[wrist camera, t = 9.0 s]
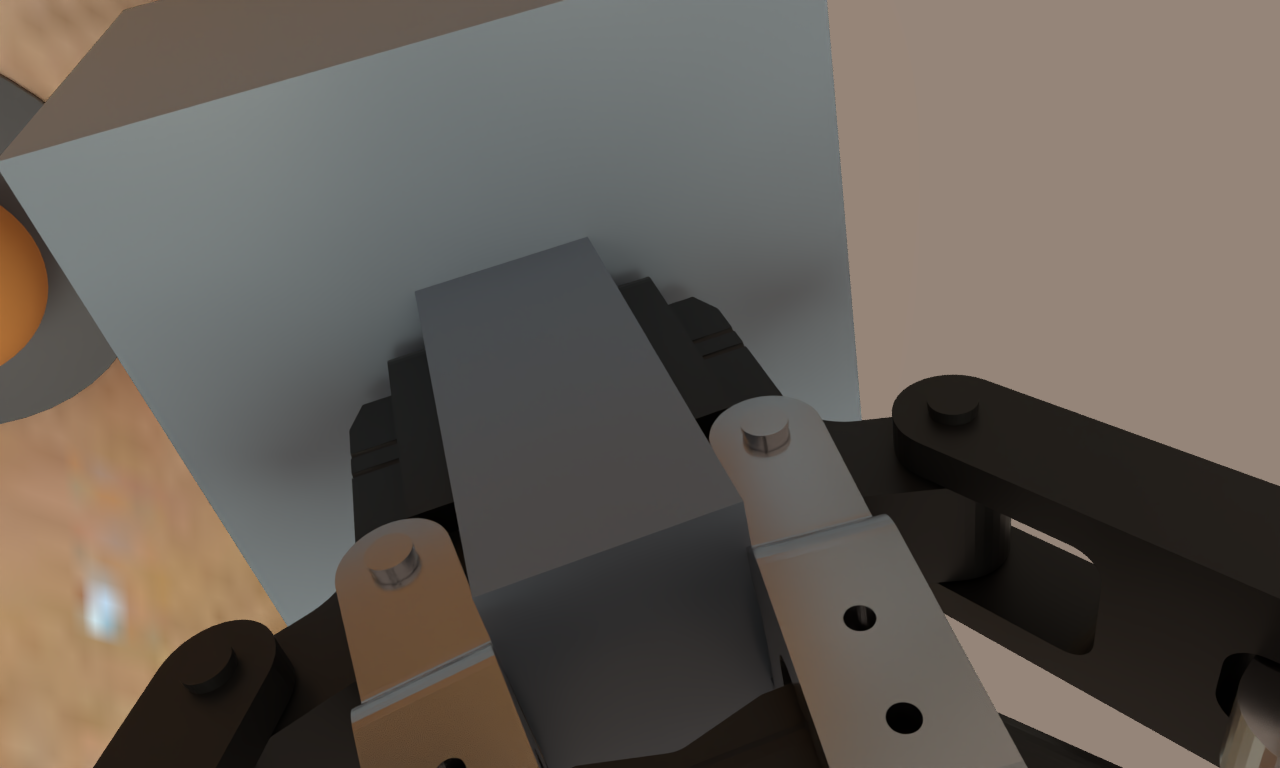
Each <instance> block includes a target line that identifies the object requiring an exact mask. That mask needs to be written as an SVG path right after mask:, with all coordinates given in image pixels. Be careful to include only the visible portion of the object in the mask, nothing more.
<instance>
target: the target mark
mask: <svg viewBox="0 0 1280 768" xmlns="http://www.w3.org/2000/svg"><path fill="white" fill-rule="evenodd" d="M44 104H45V103H44V102H43V101H41V100H40V99H39V98H38V97H36V96H34V95H33V94H31V93H30V92H28V91H27V90H25V89H23V88H22V87H20V86H19V85H17V84H16V83H14V82H12V81H11V80H9V79H8V78H6V77H4V76H2V75H0V156H1V154H2V153H3V152H4V151H5V150H6V148H7V147H8V146H9V145H10V144H11V143H12V141H13V140H14V139H15V138H16V137H17V135H18V134H19V133H20V132H21V131H22V130H23V128H24V127H25V126H26V125H27V124H28V122H29V121H30V120H31V119H32V118H33V117H34V115H35V114H36V113H37V112H38V111H39V109H40V108H41V107H42V106H43V105H44ZM0 205H1V206H2V207H3V208H5V209H6V210H7V211H8V212H10V213H11V214H12V215H13V216H14V217H15V218H16V219H17V220H18V221H19V222H20V223H21V224H22V225H23V226H24V227H25V228H26V230H27V231H28V232H29V234H30V235H31V236H32V238H33V239H34V241H35V243H36V245H37V247H38V248H39V250H40V253H41V255H42V258H43V260H44V263H45V268H46V272H47V278H48V299H47V304H46V309H45V313H44V315H43V318H42V320H41V323H40V325H39V327H38V329H37V330H36V332H35V334H34V335H33V337H32V338H31V339H30V341H29V342H28V343H27V344H26V346H25V347H24V348H23V349H22V350H20V351H19V352H18V353H17V354H16V355H15V356H14V357H13V358H11V359H10V360H8V361H7V362H6V363H4V364H3V365H1V366H0V424H2V423H6V422H10V421H14V420H18V419H22V418H26V417H29V416H32V415H34V414H37V413H40V412H42V411H45V410H48V409H50V408H52V407H54V406H56V405H58V404H60V403H62V402H64V401H66V400H68V399H70V398H72V397H73V396H75V395H76V394H78V393H79V392H80V391H82V390H83V389H85V388H86V387H88V386H89V385H90V384H92V383H93V382H94V381H95V380H96V379H97V378H98V377H99V376H100V375H101V374H103V373H104V372H105V371H106V370H107V369H108V368H109V367H110V365H111V364H112V363H113V362H114V360H115V359H116V358H117V356H116V354H115V353H114V351H113V349H112V348H111V346H110V345H109V343H108V342H107V340H106V338H105V337H104V335H103V334H102V332H101V330H100V329H99V327H98V326H97V324H96V323H95V321H94V319H93V318H92V316H91V315H90V313H89V312H88V310H87V308H86V307H85V305H84V304H83V302H82V300H81V299H80V297H79V296H78V294H77V293H76V291H75V289H74V288H73V286H72V285H71V283H70V281H69V280H68V278H67V277H66V275H65V274H64V272H63V270H62V269H61V267H60V266H59V264H58V263H57V261H56V259H55V258H54V256H53V255H52V253H51V251H50V250H49V248H48V247H47V245H46V244H45V242H44V240H43V239H42V237H41V236H40V234H39V232H38V231H37V229H36V228H35V226H34V225H33V223H32V221H31V220H30V218H29V217H28V215H27V214H26V212H25V210H24V209H23V207H22V206H21V204H20V202H19V201H18V199H17V198H16V196H15V195H14V193H13V191H12V190H11V188H10V187H9V185H8V183H7V182H6V180H5V179H4V177H3V176H2V174H1V172H0Z"/></svg>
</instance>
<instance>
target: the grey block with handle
mask: <svg viewBox="0 0 1280 768" xmlns="http://www.w3.org/2000/svg"><path fill="white" fill-rule="evenodd" d="M0 172H1V174H2V176H3V177H4V179H5V180H6V182H7V183H8V185H9V187H10V188H11V190H12V191H13V193H14V195H15V196H16V198H17V199H18V201H19V202H20V204H21V206H22V207H23V209H24V210H25V212H26V214H27V215H28V217H29V218H30V220H31V221H32V223H33V225H34V226H35V228H36V229H37V231H38V232H39V234H40V236H41V237H42V239H43V240H44V242H45V244H46V245H47V247H48V248H49V250H50V251H51V253H52V255H53V256H54V258H55V259H56V261H57V263H58V264H59V266H60V267H61V269H62V270H63V272H64V274H65V275H66V277H67V278H68V280H69V281H70V283H71V285H72V286H73V288H74V289H75V291H76V293H77V294H78V296H79V297H80V299H81V300H82V302H83V304H84V305H85V307H86V308H87V310H88V312H89V313H90V315H91V316H92V318H93V319H94V321H95V323H96V324H97V326H98V327H99V329H100V330H101V332H102V334H103V335H104V337H105V338H106V340H107V342H108V343H109V345H110V346H111V348H112V349H113V351H114V353H115V354H116V356H117V357H118V359H119V361H120V362H121V364H122V365H123V367H124V368H125V370H126V372H127V373H128V375H129V376H130V378H131V379H132V381H133V383H134V384H135V386H136V387H137V389H138V391H139V392H140V394H141V395H142V397H143V398H144V400H145V402H146V403H147V405H148V406H149V408H150V410H151V411H152V413H153V414H154V416H155V417H156V419H157V421H158V422H159V424H160V425H161V427H162V428H163V430H164V432H165V433H166V435H167V436H168V438H169V440H170V441H171V443H172V444H173V446H174V447H175V449H176V451H177V452H178V454H179V455H180V457H181V459H182V460H183V462H184V463H185V465H186V466H187V468H188V470H189V471H190V473H191V474H192V476H193V477H194V479H195V481H196V482H197V484H198V485H199V487H200V489H201V490H202V492H203V493H204V495H205V496H206V498H207V500H208V501H209V503H210V504H211V506H212V508H213V509H214V511H215V512H216V514H217V515H218V517H219V519H220V520H221V522H222V523H223V525H224V526H225V528H226V530H227V531H228V533H229V534H230V536H231V538H232V539H233V541H234V542H235V544H236V545H237V547H238V549H239V550H240V552H241V553H242V555H243V557H244V558H245V560H246V561H247V563H248V564H249V566H250V568H251V569H252V571H253V572H254V574H255V575H256V577H257V579H258V580H259V582H260V583H261V585H262V587H263V588H264V590H265V591H266V593H267V594H268V596H269V598H270V599H271V601H272V602H273V604H274V605H275V607H276V609H277V610H278V612H279V613H280V615H281V617H282V618H283V620H284V621H285V623H286V624H287V626H290V625H291V624H293V623H294V622H296V621H298V620H299V619H301V618H303V617H304V616H306V615H307V614H309V613H310V612H312V611H313V610H315V609H316V608H318V607H319V606H320V605H322V604H323V603H324V602H325V601H326V600H328V599H329V598H330V597H331V596H332V595H333V594H334V593H335V592H336V588H335V575H336V571H337V568H338V565H339V563H340V561H341V560H342V558H343V556H344V555H345V554H346V553H347V551H348V550H349V549H350V548H351V547H352V546H353V545H354V544H355V530H354V511H353V493H352V478H353V476H352V474H351V459H352V457H351V454H350V437H349V430H350V428H351V426H352V424H353V422H354V420H355V418H356V416H357V415H358V413H359V411H360V409H361V407H362V405H364V404H367V403H370V402H373V401H376V400H379V399H382V398H385V397H388V396H391V389H390V381H389V373H388V364H387V362H388V360H391V359H394V358H397V357H400V356H403V355H406V354H409V353H412V352H415V351H419V350H422V349H425V350H426V355H427V361H428V366H429V371H430V377H431V382H432V387H433V393H434V398H435V403H436V409H437V414H438V419H439V425H440V430H441V435H442V441H443V446H444V451H445V457H446V462H447V467H448V473H449V478H450V483H451V489H452V494H453V499H454V505H455V510H456V515H457V521H458V526H459V531H460V537H461V542H462V547H463V553H464V558H465V563H466V569H467V574H468V579H469V585H470V590H471V595H472V599H473V601H474V604H475V606H476V608H477V610H478V613H479V615H480V617H481V619H482V621H483V624H484V626H485V628H486V630H487V633H488V635H489V637H490V639H491V641H492V644H493V646H494V648H495V650H496V653H497V655H498V657H499V659H500V661H501V664H502V666H503V668H504V670H505V673H506V675H507V677H508V679H509V682H510V684H511V686H512V688H513V690H514V693H515V695H516V697H517V699H518V702H519V704H520V706H521V708H522V710H523V713H524V715H525V717H526V719H527V722H528V724H529V726H530V728H531V730H532V733H533V735H534V737H535V739H536V742H537V744H538V746H539V748H540V751H541V753H542V755H543V757H544V759H545V762H546V764H547V766H548V768H572V767H574V766H578V765H585V764H592V763H600V762H607V761H614V760H622V759H629V758H636V757H644V756H651V755H658V754H666V753H671V752H675V751H678V750H680V749H682V748H684V747H686V746H687V745H689V744H690V743H692V742H693V741H695V740H696V739H698V738H699V737H700V736H702V735H703V734H705V733H706V732H708V731H709V730H711V729H712V728H714V727H715V726H716V725H718V724H719V723H721V722H722V721H724V720H725V719H727V718H728V717H729V716H731V715H732V714H734V713H735V712H737V711H738V710H740V709H741V708H743V707H744V706H745V705H747V704H748V703H750V702H751V701H753V700H754V699H756V698H757V697H759V696H760V695H762V694H764V693H767V692H769V691H772V690H773V688H772V683H771V678H772V677H773V674H772V669H771V663H770V658H769V652H768V647H767V642H766V636H765V631H764V625H763V620H762V616H761V612H760V607H759V604H758V600H757V596H756V593H755V589H754V586H753V582H752V578H751V573H750V568H749V562H748V557H747V552H746V547H748V546H751V540H750V535H749V529H748V524H747V518H746V513H745V508H744V502H743V500H742V498H741V496H740V495H739V493H738V491H737V490H736V488H735V486H734V484H733V483H732V481H731V479H730V478H729V476H728V474H727V473H726V471H725V469H724V467H723V466H722V464H721V462H720V461H719V459H718V457H717V456H716V454H715V452H714V450H713V449H712V447H711V445H710V444H709V442H708V440H707V439H706V437H705V435H704V433H703V432H702V430H701V428H700V427H699V425H698V423H697V422H696V420H695V418H694V416H693V415H692V413H691V411H690V410H689V408H688V406H687V405H686V403H685V401H684V400H683V398H682V396H681V394H680V393H679V391H678V389H677V388H676V386H675V384H674V383H673V381H672V379H671V377H670V376H669V374H668V372H667V371H666V369H665V367H664V366H663V364H662V362H661V360H660V359H659V357H658V355H657V354H656V352H655V350H654V349H653V347H652V345H651V343H650V342H649V340H648V338H647V337H646V335H645V333H644V332H643V330H642V328H641V326H640V325H639V323H638V321H637V320H636V318H635V316H634V315H633V313H632V311H631V309H630V308H629V306H628V304H627V303H626V301H625V299H624V298H623V296H622V294H621V292H620V291H619V289H618V287H617V286H620V285H623V284H626V283H629V282H632V281H635V280H638V279H642V278H645V277H650V278H651V279H652V281H653V282H654V284H655V285H656V287H657V288H658V290H659V291H660V293H661V294H662V296H663V297H664V299H665V301H666V302H667V304H668V305H669V304H672V303H675V302H678V301H681V300H684V299H687V298H690V297H695V298H697V299H699V300H701V301H703V302H705V303H707V304H709V305H712V306H714V307H716V308H718V309H719V310H720V312H721V313H722V314H723V316H724V317H725V318H726V320H727V321H728V322H729V324H730V325H731V327H732V329H733V331H735V332H736V333H737V335H738V336H739V337H740V339H741V340H742V341H743V344H744V346H746V347H747V348H748V349H749V351H750V352H751V353H752V355H753V356H754V357H755V359H756V360H757V361H758V363H759V364H760V366H761V367H762V368H763V370H764V371H765V372H766V374H767V375H768V376H769V378H770V379H771V380H772V382H773V383H774V384H775V386H776V387H777V388H778V390H779V391H780V392H781V394H782V395H783V396H784V397H790V398H794V399H798V400H800V401H803V402H805V403H807V404H808V405H810V406H812V407H813V408H814V409H815V410H816V411H817V412H818V414H819V415H820V417H821V418H822V420H828V421H839V422H849V421H861V420H862V419H861V408H860V395H859V383H858V371H857V358H856V347H855V334H854V323H853V310H852V298H851V286H850V274H849V262H848V249H847V238H846V225H845V214H844V201H843V189H842V178H841V166H840V153H839V140H838V128H837V116H836V104H835V92H834V80H833V68H832V57H831V44H830V32H829V20H828V7H827V0H159V1H155V2H151V3H148V4H144V5H140V6H136V7H133V8H129V9H125V10H123V11H122V13H121V14H120V15H119V16H118V17H117V18H116V20H115V21H114V22H113V23H112V24H111V26H110V27H109V28H108V29H107V30H106V31H105V33H104V34H103V35H102V36H101V37H100V39H99V40H98V41H97V42H96V43H95V44H94V46H93V47H92V48H91V49H90V50H89V52H88V53H87V54H86V55H85V56H84V57H83V59H82V60H81V61H80V62H79V63H78V65H77V66H76V67H75V68H74V69H73V70H72V72H71V73H70V74H69V75H68V76H67V78H66V79H65V80H64V81H63V82H62V83H61V85H60V86H59V87H58V88H57V89H56V91H55V92H54V93H53V94H52V95H51V96H50V98H49V99H48V100H47V101H46V102H45V104H44V105H43V106H42V107H41V108H40V109H39V111H38V112H37V113H36V114H35V115H34V117H33V118H32V119H31V120H30V121H29V122H28V124H27V125H26V126H25V127H24V128H23V130H22V131H21V132H20V133H19V134H18V135H17V137H16V138H15V139H14V140H13V141H12V143H11V144H10V145H9V146H8V147H7V148H6V150H5V151H4V152H3V153H2V154H1V156H0Z"/></svg>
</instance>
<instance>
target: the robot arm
mask: <svg viewBox="0 0 1280 768" xmlns="http://www.w3.org/2000/svg"><path fill="white" fill-rule="evenodd" d="M617 287H618V289H619V291H620V292H621V294H622V296H623V298H624V299H625V301H626V303H627V304H628V306H629V308H630V309H631V311H632V313H633V315H634V316H635V318H636V320H637V321H638V323H639V325H640V326H641V328H642V330H643V332H644V333H645V335H646V337H647V338H648V340H649V342H650V343H651V345H652V347H653V349H654V350H655V352H656V354H657V355H658V357H659V359H660V360H661V362H662V364H663V366H664V367H665V369H666V371H667V372H668V374H669V376H670V377H671V379H672V381H673V383H674V384H675V386H676V388H677V389H678V391H679V393H680V394H681V396H682V398H683V400H684V401H685V403H686V405H687V406H688V408H689V410H690V411H691V413H692V415H693V416H694V418H695V420H696V422H697V423H698V425H699V427H700V428H701V430H702V432H703V433H704V435H705V437H706V439H707V440H708V442H709V444H710V445H711V447H712V449H713V450H714V452H715V454H716V456H717V457H718V459H719V461H720V462H721V464H722V466H723V467H724V469H725V471H726V473H727V474H728V476H729V478H730V479H731V481H732V483H733V484H734V486H735V488H736V490H737V491H738V493H739V495H740V496H741V498H742V500H743V502H744V508H745V513H746V518H747V524H748V529H749V535H750V540H751V546H748V547H746V552H747V557H748V562H749V568H750V573H751V578H752V582H753V586H754V589H755V593H756V596H757V600H758V604H759V607H760V612H761V616H762V620H763V625H764V631H765V636H766V642H767V647H768V652H769V658H770V663H771V669H772V674H773V677H772V678H771V683H772V688H773V690H772V691H769V692H767V693H764V694H762V695H760V696H759V697H757V698H756V699H754V700H753V701H751V702H750V703H748V704H747V705H745V706H744V707H743V708H741V709H740V710H738V711H737V712H735V713H734V714H732V715H731V716H729V717H728V718H727V719H725V720H724V721H722V722H721V723H719V724H718V725H716V726H715V727H714V728H712V729H711V730H709V731H708V732H706V733H705V734H703V735H702V736H700V737H699V738H698V739H696V740H695V741H693V742H692V743H690V744H689V745H687V746H686V747H684V748H682V749H680V750H678V751H675V752H671V753H666V754H658V755H651V756H644V757H636V758H629V759H622V760H614V761H607V762H600V763H592V764H585V765H578V766H574V767H572V768H1122V767H1120V766H1118V765H1115V764H1113V763H1111V762H1109V761H1106V760H1104V759H1102V758H1100V757H1097V756H1095V755H1093V754H1090V753H1088V752H1086V751H1084V750H1082V749H1079V748H1077V747H1074V746H1073V745H1070V744H1068V743H1066V742H1063V741H1061V740H1059V739H1057V738H1054V737H1052V736H1050V735H1048V734H1045V733H1043V732H1041V731H1038V730H1036V729H1034V728H1032V727H1030V726H1027V725H1025V724H1023V723H1021V722H1018V721H1016V720H1014V719H1012V718H1009V717H1007V716H1005V715H1002V714H1000V713H998V712H997V711H996V709H995V707H994V705H993V703H992V702H991V700H990V698H989V696H988V694H987V692H986V691H985V689H984V687H983V685H982V683H981V681H980V679H979V678H978V676H977V674H976V672H975V670H974V668H973V666H972V665H971V663H970V661H969V660H968V657H967V656H966V654H965V652H964V650H963V648H962V646H961V644H960V643H959V641H958V639H957V637H956V635H955V633H954V632H953V630H952V628H951V626H950V624H949V622H948V620H947V619H946V617H945V615H944V614H946V615H948V616H950V617H951V618H954V619H955V620H957V621H959V622H960V623H962V624H964V625H966V626H968V627H969V628H971V629H973V630H975V631H977V632H978V633H980V634H982V635H984V636H985V637H987V638H989V639H991V640H993V641H995V642H996V643H998V644H1000V645H1001V646H1003V647H1005V648H1007V649H1009V650H1011V651H1012V652H1014V653H1016V654H1018V655H1019V656H1021V657H1023V658H1025V659H1026V660H1028V661H1030V662H1032V663H1034V664H1035V665H1037V666H1039V667H1041V668H1043V669H1044V670H1046V671H1048V672H1050V673H1051V674H1053V675H1055V676H1057V677H1059V678H1060V679H1062V680H1064V681H1066V682H1068V683H1069V684H1071V685H1073V686H1075V687H1076V688H1078V689H1080V690H1082V691H1084V692H1085V693H1087V694H1089V695H1091V696H1093V697H1094V698H1096V699H1098V700H1100V701H1101V702H1103V703H1105V704H1107V705H1109V706H1110V707H1112V708H1114V709H1116V710H1118V711H1119V712H1121V713H1123V714H1125V715H1127V716H1128V717H1130V718H1132V719H1134V720H1135V721H1137V722H1139V723H1141V724H1143V725H1144V726H1146V727H1148V728H1150V729H1152V730H1154V731H1155V732H1157V733H1159V734H1160V735H1162V736H1164V737H1166V738H1168V739H1169V740H1171V741H1173V742H1175V743H1177V744H1178V745H1180V746H1182V747H1184V748H1185V749H1187V750H1189V751H1191V752H1193V753H1194V754H1196V755H1198V756H1200V757H1202V758H1203V759H1205V760H1207V761H1209V762H1211V763H1212V764H1214V765H1216V766H1218V767H1219V768H1280V486H1278V485H1275V484H1272V483H1269V482H1267V481H1264V480H1261V479H1258V478H1255V477H1253V476H1250V475H1247V474H1244V473H1241V472H1239V471H1236V470H1233V469H1230V468H1228V467H1225V466H1222V465H1220V464H1216V463H1214V462H1211V461H1208V460H1206V459H1203V458H1200V457H1197V456H1195V455H1192V454H1189V453H1186V452H1183V451H1180V450H1178V449H1175V448H1172V447H1169V446H1167V445H1164V444H1161V443H1159V442H1156V441H1153V440H1150V439H1147V438H1145V437H1142V436H1139V435H1136V434H1134V433H1131V432H1128V431H1125V430H1122V429H1120V428H1117V427H1114V426H1111V425H1108V424H1106V423H1103V422H1100V421H1097V420H1095V419H1092V418H1089V417H1086V416H1084V415H1081V414H1078V413H1075V412H1073V411H1070V410H1067V409H1064V408H1061V407H1058V406H1056V405H1053V404H1050V403H1048V402H1045V401H1042V400H1039V399H1036V398H1034V397H1031V396H1028V395H1025V394H1022V393H1020V392H1017V391H1014V390H1012V389H1009V388H1006V387H1003V386H1000V385H998V384H994V383H992V382H989V381H987V380H983V379H980V378H976V377H971V376H965V375H942V376H935V377H931V378H927V379H923V380H921V381H918V382H916V383H914V384H912V385H910V386H909V387H907V388H906V389H905V390H903V391H902V392H901V393H900V394H899V395H898V397H897V399H896V400H895V401H894V404H893V408H892V417H889V418H880V419H870V420H861V421H849V422H839V421H828V420H822V418H821V417H820V415H819V414H818V412H817V411H816V410H815V409H814V408H813V407H812V406H810V405H808V404H807V403H805V402H803V401H800V400H798V399H794V398H790V397H784V396H783V395H782V394H781V392H780V391H779V390H778V388H777V387H776V386H775V384H774V383H773V382H772V380H771V379H770V378H769V376H768V375H767V374H766V372H765V371H764V370H763V368H762V367H761V366H760V364H759V363H758V361H757V360H756V359H755V357H754V356H753V355H752V353H751V352H750V351H749V349H748V348H747V347H746V346H744V344H743V341H742V340H741V339H740V337H739V336H738V335H737V333H736V332H735V331H733V329H732V327H731V325H730V324H729V322H728V321H727V320H726V318H725V317H724V316H723V314H722V313H721V312H720V310H719V309H718V308H716V307H714V306H712V305H709V304H707V303H705V302H703V301H701V300H699V299H697V298H695V297H690V298H687V299H684V300H681V301H678V302H675V303H672V304H669V305H668V304H667V302H666V301H665V299H664V297H663V296H662V294H661V293H660V291H659V290H658V288H657V287H656V285H655V284H654V282H653V281H652V279H651V278H650V277H645V278H642V279H638V280H635V281H632V282H629V283H626V284H623V285H620V286H617ZM387 364H388V373H389V381H390V389H391V396H388V397H385V398H382V399H379V400H376V401H373V402H370V403H367V404H364V405H362V407H361V409H360V411H359V413H358V415H357V416H356V418H355V420H354V422H353V424H352V426H351V428H350V430H349V437H350V454H351V457H352V459H351V474H352V476H353V478H352V493H353V511H354V530H355V544H354V545H353V546H352V547H351V548H350V549H349V550H348V551H347V553H346V554H345V555H344V556H343V558H342V560H341V561H340V563H339V565H338V568H337V571H336V575H335V588H336V592H335V593H334V594H333V595H332V596H331V597H330V598H329V599H328V600H326V601H325V602H324V603H323V604H322V605H320V606H319V607H318V608H316V609H315V610H313V611H312V612H310V613H309V614H307V615H306V616H304V617H303V618H301V619H299V620H298V621H296V622H294V623H293V624H291V625H290V626H288V627H286V628H285V629H283V630H282V631H280V632H278V633H277V634H275V635H273V634H272V632H271V631H270V630H269V629H268V628H267V627H266V626H265V625H263V624H261V623H259V622H256V621H252V620H233V621H229V622H224V623H221V624H218V625H215V626H212V627H210V628H208V629H206V630H203V631H202V632H200V633H198V634H196V635H195V636H193V637H191V638H190V639H189V640H187V641H186V642H184V643H183V644H182V645H181V646H179V647H178V648H177V649H176V650H175V651H174V652H173V653H172V654H171V655H170V656H169V657H168V658H167V659H166V660H165V661H164V663H163V664H162V665H161V667H160V668H159V669H158V671H157V672H156V674H155V675H154V677H153V678H152V680H151V681H150V683H149V684H148V686H147V687H146V689H145V690H144V692H143V693H142V695H141V696H140V698H139V699H138V701H137V702H136V704H135V705H134V707H133V708H132V710H131V711H130V713H129V714H128V716H127V717H126V719H125V720H124V722H123V723H122V725H121V726H120V728H119V729H118V731H117V732H116V734H115V735H114V737H113V738H112V740H111V741H110V743H109V744H108V746H107V747H106V749H105V750H104V752H103V753H102V755H101V757H100V758H99V760H98V761H97V763H96V764H95V766H94V767H93V768H548V766H547V764H546V762H545V759H544V757H543V755H542V753H541V751H540V748H539V746H538V744H537V742H536V739H535V737H534V735H533V733H532V730H531V728H530V726H529V724H528V722H527V719H526V717H525V715H524V713H523V710H522V708H521V706H520V704H519V702H518V699H517V697H516V695H515V693H514V690H513V688H512V686H511V684H510V682H509V679H508V677H507V675H506V673H505V670H504V668H503V666H502V664H501V661H500V659H499V657H498V655H497V653H496V650H495V648H494V646H493V644H492V641H491V639H490V637H489V635H488V633H487V630H486V628H485V626H484V624H483V621H482V619H481V617H480V615H479V613H478V610H477V608H476V606H475V604H474V601H473V599H472V595H471V590H470V585H469V579H468V574H467V569H466V563H465V558H464V553H463V547H462V542H461V537H460V531H459V526H458V521H457V515H456V510H455V505H454V499H453V494H452V489H451V483H450V478H449V473H448V467H447V462H446V457H445V451H444V446H443V441H442V435H441V430H440V425H439V419H438V414H437V409H436V403H435V398H434V393H433V387H432V382H431V377H430V371H429V366H428V361H427V355H426V350H425V349H422V350H419V351H415V352H412V353H409V354H406V355H403V356H400V357H397V358H394V359H391V360H388V362H387ZM1011 518H1012V519H1014V520H1017V521H1019V522H1021V523H1023V524H1025V525H1027V526H1030V527H1032V528H1034V529H1036V530H1038V531H1041V532H1043V533H1045V534H1047V535H1049V536H1051V537H1053V538H1056V539H1058V540H1060V541H1062V542H1064V543H1067V544H1069V545H1071V546H1073V547H1075V548H1076V549H1078V550H1079V551H1081V552H1082V553H1083V554H1085V555H1086V556H1087V557H1088V558H1089V559H1090V560H1091V561H1092V562H1093V563H1094V564H1092V563H1090V562H1088V561H1086V560H1084V559H1082V558H1080V557H1078V556H1075V555H1073V554H1071V553H1069V552H1067V551H1065V550H1062V549H1060V548H1058V547H1056V546H1054V545H1052V544H1050V543H1047V542H1045V541H1043V540H1041V539H1039V538H1037V537H1034V536H1032V535H1030V534H1028V533H1026V532H1024V531H1022V530H1019V529H1017V528H1015V527H1013V526H1011Z"/></svg>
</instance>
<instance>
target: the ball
mask: <svg viewBox="0 0 1280 768" xmlns="http://www.w3.org/2000/svg"><path fill="white" fill-rule="evenodd" d="M47 299H48V278H47V272H46V268H45V263H44V260H43V258H42V255H41V253H40V250H39V248H38V247H37V245H36V243H35V241H34V239H33V238H32V236H31V235H30V234H29V232H28V231H27V230H26V228H25V227H24V226H23V225H22V224H21V223H20V222H19V221H18V220H17V219H16V218H15V217H14V216H13V215H12V214H11V213H10V212H8V211H7V210H6V209H5V208H3V207H2V206H1V205H0V366H1V365H3V364H4V363H6V362H7V361H8V360H10V359H11V358H13V357H14V356H15V355H16V354H17V353H18V352H19V351H20V350H22V349H23V348H24V347H25V346H26V344H27V343H28V342H29V341H30V339H31V338H32V337H33V335H34V334H35V332H36V330H37V329H38V327H39V325H40V323H41V320H42V318H43V315H44V313H45V309H46V304H47Z"/></svg>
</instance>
